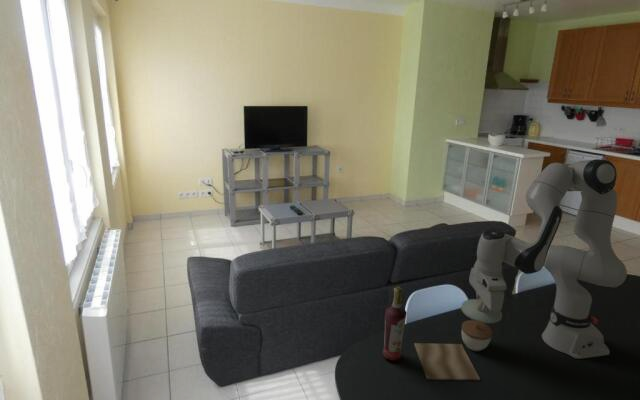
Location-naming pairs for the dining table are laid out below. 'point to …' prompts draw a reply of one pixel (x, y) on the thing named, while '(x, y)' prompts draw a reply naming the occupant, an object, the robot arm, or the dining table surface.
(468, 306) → the lid
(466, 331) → the lidded jar
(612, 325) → the dining table surface
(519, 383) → the dining table surface
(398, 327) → the liquor
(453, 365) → the plate
